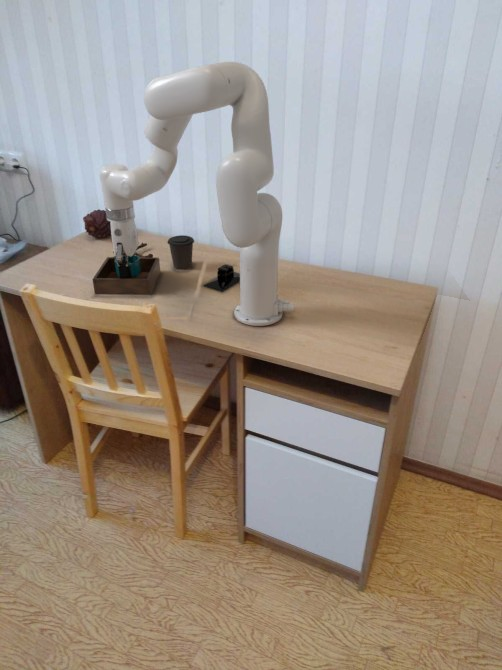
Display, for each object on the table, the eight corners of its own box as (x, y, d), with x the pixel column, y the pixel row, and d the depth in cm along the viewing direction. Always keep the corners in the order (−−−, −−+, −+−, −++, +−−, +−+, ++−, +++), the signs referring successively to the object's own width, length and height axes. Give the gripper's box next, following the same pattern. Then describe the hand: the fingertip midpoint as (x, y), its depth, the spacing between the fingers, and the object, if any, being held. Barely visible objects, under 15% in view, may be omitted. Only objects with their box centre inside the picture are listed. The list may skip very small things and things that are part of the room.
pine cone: (94, 225, 198) (106, 202, 195) (116, 241, 198) (129, 218, 195) (70, 229, 181) (82, 204, 178) (93, 245, 181) (107, 221, 178)
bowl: (143, 270, 156) (141, 254, 154) (138, 280, 150) (136, 263, 148) (120, 270, 157) (118, 254, 154) (114, 280, 151) (112, 264, 148)
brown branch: (128, 264, 160) (94, 249, 166) (128, 277, 163) (95, 262, 169) (168, 246, 173) (136, 232, 179) (168, 258, 175) (136, 244, 181)
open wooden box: (160, 273, 162) (159, 257, 159) (150, 297, 148) (148, 279, 146) (109, 273, 162) (107, 256, 159) (95, 296, 149) (92, 279, 146)
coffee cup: (196, 272, 162) (195, 241, 157) (170, 274, 161) (167, 243, 156) (195, 262, 169) (193, 232, 164) (169, 264, 168) (166, 233, 163)
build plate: (222, 292, 151) (221, 277, 149) (202, 286, 155) (201, 271, 152) (247, 276, 160) (247, 262, 157) (228, 271, 163) (227, 257, 161)
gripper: (126, 223, 136) (135, 286, 146) (140, 203, 151) (148, 261, 160) (97, 223, 137) (108, 286, 146) (114, 203, 152) (123, 261, 161)
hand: (129, 272), depth 153 cm, fingers closed on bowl, 7 cm apart
